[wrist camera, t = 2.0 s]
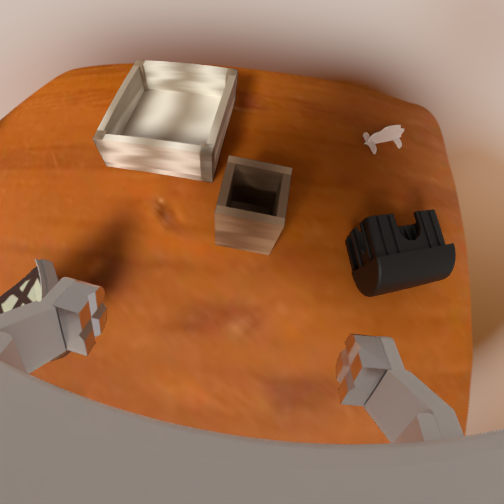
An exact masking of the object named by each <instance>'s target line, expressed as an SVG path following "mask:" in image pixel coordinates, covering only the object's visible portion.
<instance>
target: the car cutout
mask: <svg viewBox="0 0 504 504" xmlns="http://www.w3.org/2000/svg"><path fill="white" fill-rule="evenodd" d="M404 130H405V129H404V128H401V125H392V126H387V127H385V128H384V129H382V130H381V131H380V132H376V133H374V134H372V135H371V136H370V135H369V134H368V133H367V132H365V133H364V134H363V137H364V139H365V141H366V142H365V143H364V144H367V146H369V147H370V149H371V151H372V152H373V154H374V155H375V153H376V152H377V147H376V145H375V144H377V143H382V142H388V141H394V142H395V144H396V145H397V147H398V149H400V148H401V147H402V142H401V140H400V138H399V137H401V134H402V133H403V132H404Z"/></svg>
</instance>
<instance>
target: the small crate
mask: <svg viewBox="0 0 504 504" xmlns="http://www.w3.org/2000/svg"><path fill="white" fill-rule="evenodd" d="M291 174H292V168H289V167H285V166H280V165H276V164H271V163H266V162H261V161H256V160H251V159H246V158H241V157H235V156H230V155H229V157H228V161H227V165H226V169H225V173H224V177H223V181H222V185H221V189H220V193H219V197H218V201H217V205H216V210H215V245H219V246H224V247H229V248H234V249H240V250H245V251H250V252H255V253H260V254H265V255H269V254H270V252H271V251H272V249H273V247H274V245H275V243H276V241H277V239H278V237H279V235H280V233H281V231H282V230H283V228H284V224H285V217H286V210H287V203H288V196H289V189H290V182H291Z"/></svg>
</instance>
